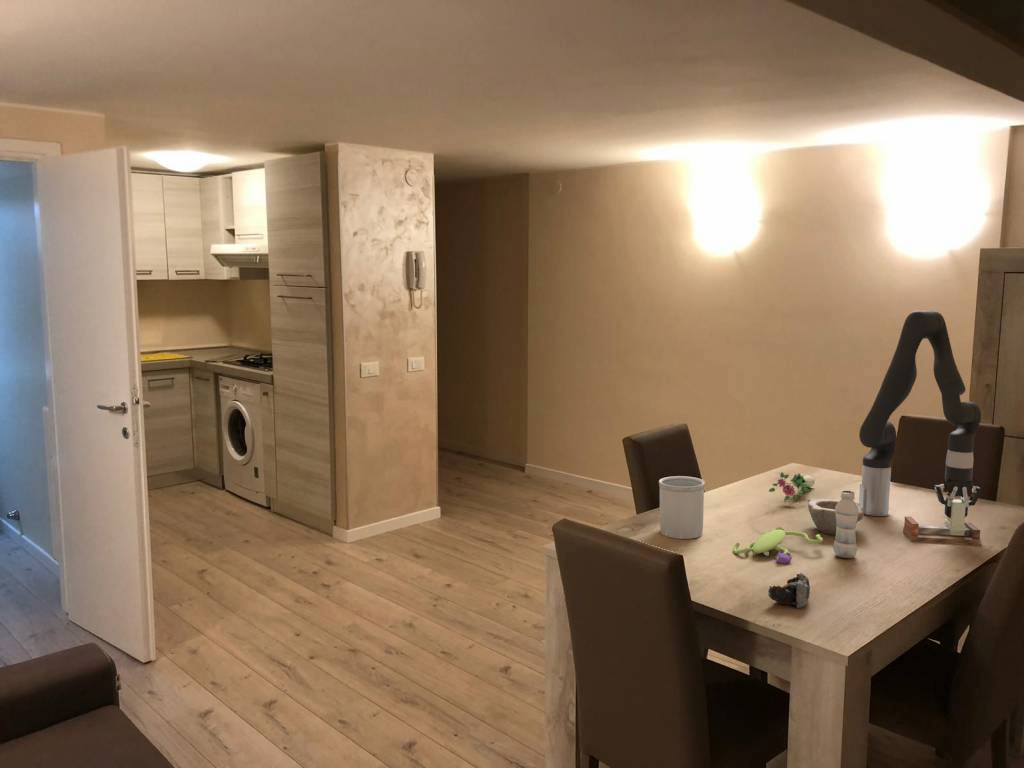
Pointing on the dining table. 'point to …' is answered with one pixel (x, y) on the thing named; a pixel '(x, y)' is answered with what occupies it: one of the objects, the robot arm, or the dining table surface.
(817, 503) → the mortar
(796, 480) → the flower vase
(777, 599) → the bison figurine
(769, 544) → the figurine
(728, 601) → the dining table surface
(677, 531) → the utensil holder
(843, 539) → the plastic bottle
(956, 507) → the slider
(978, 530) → the track
